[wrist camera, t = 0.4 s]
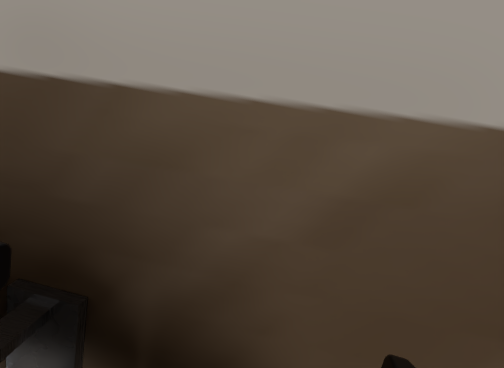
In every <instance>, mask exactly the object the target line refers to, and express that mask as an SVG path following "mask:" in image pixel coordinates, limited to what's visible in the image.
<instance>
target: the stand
mask: <svg viewBox="0 0 504 368" xmlns="http://www.w3.org/2000/svg"><path fill="white" fill-rule="evenodd" d="M87 299H88V297H85V296H81V295H77V294H74V293H70V292H66V291H62V290H59V289H55V288H51V287H48V286H44V285H40V284H36V283H33V282H29V281H25V280H21V279H18V280H16V281H15V282H13V283H11V284H10V285H8V286H7V315H5V316H4V317H2V318H1V319H0V362H1V361H3V360H4V359H5V358H6V368H82V363H83V350H84V337H85V325H86V312H87Z"/></svg>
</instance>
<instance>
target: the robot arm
mask: <svg viewBox="0 0 504 368" xmlns="http://www.w3.org/2000/svg"><path fill="white" fill-rule="evenodd" d="M10 267H11V247H10V246H9V245H8V244H7V243H3V242H0V290H1V289H2V288H3V287H4V286H5V285H6V283H7V282H8V280H9V277H10ZM381 368H415V367H414V366H413V365H412V364H411V363H410V362H409V361H408V360H407V359H405V358H401V357H398V356H394V355H390V354H389V355H387V356H386V357H385V359H384V362H383V364H382V367H381Z"/></svg>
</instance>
